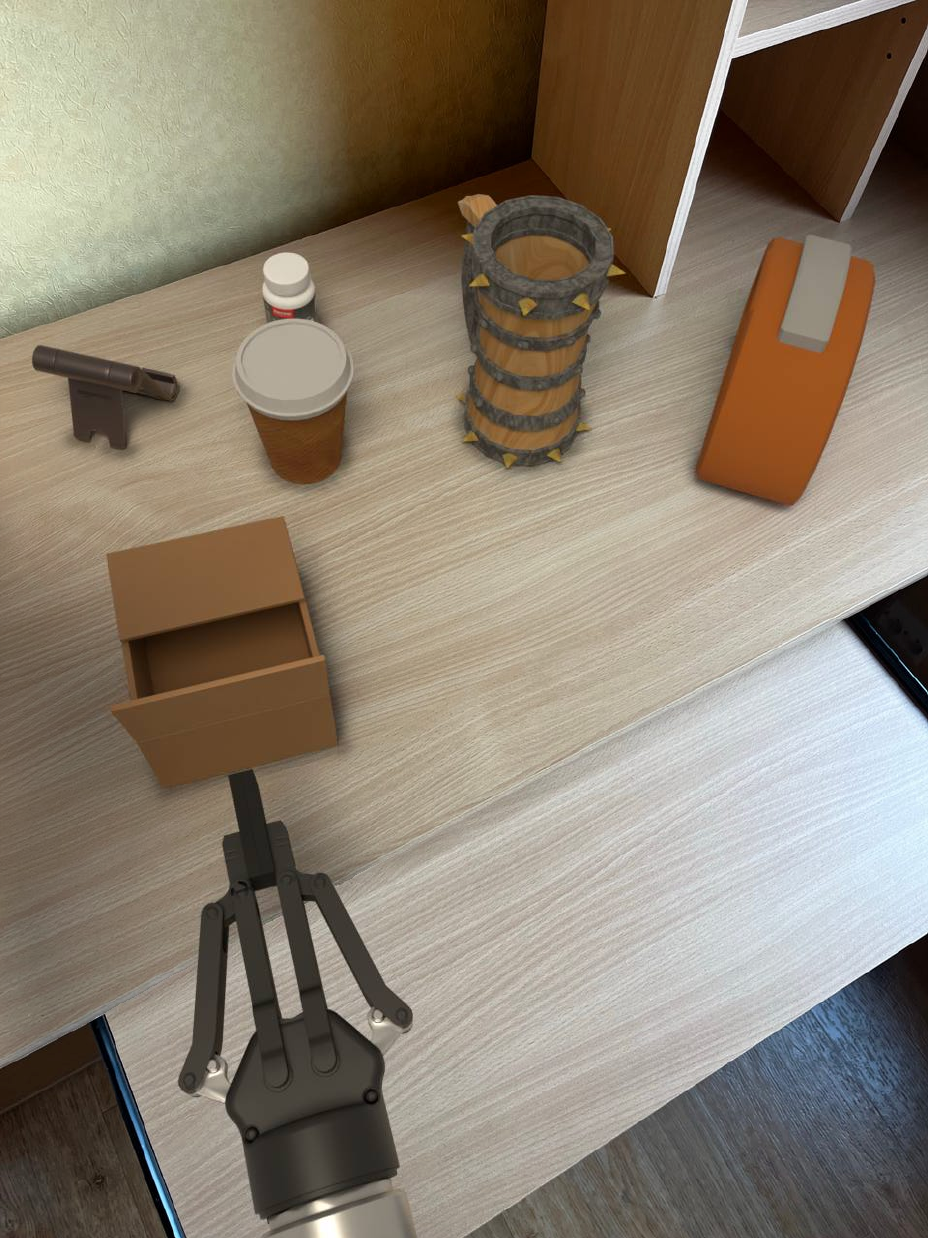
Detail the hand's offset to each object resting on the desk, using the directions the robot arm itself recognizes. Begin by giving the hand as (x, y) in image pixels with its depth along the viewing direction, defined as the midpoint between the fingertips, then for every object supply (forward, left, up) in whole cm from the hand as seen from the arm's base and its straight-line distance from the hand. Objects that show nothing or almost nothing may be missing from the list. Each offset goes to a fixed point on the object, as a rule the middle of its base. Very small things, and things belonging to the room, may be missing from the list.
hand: (243, 780), depth 65 cm
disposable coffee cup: (+10, +34, -13) cm, 37 cm away
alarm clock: (+51, +28, -13) cm, 60 cm away
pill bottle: (+12, +48, -13) cm, 51 cm away
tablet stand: (-5, +43, -13) cm, 45 cm away
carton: (0, +14, -12) cm, 18 cm away
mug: (+29, +35, -13) cm, 47 cm away
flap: (0, +6, 0) cm, 6 cm away
